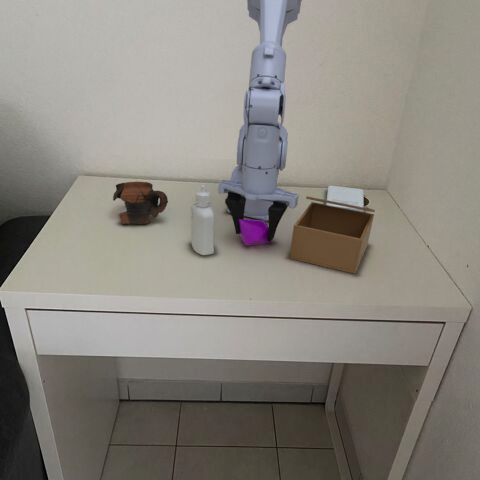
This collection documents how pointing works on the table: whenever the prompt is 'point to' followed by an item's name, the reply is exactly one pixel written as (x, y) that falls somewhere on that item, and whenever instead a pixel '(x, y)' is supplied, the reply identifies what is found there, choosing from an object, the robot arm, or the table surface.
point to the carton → (331, 237)
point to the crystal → (253, 231)
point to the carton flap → (340, 204)
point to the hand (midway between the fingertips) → (254, 235)
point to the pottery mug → (139, 202)
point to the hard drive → (345, 197)
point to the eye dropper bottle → (202, 223)
